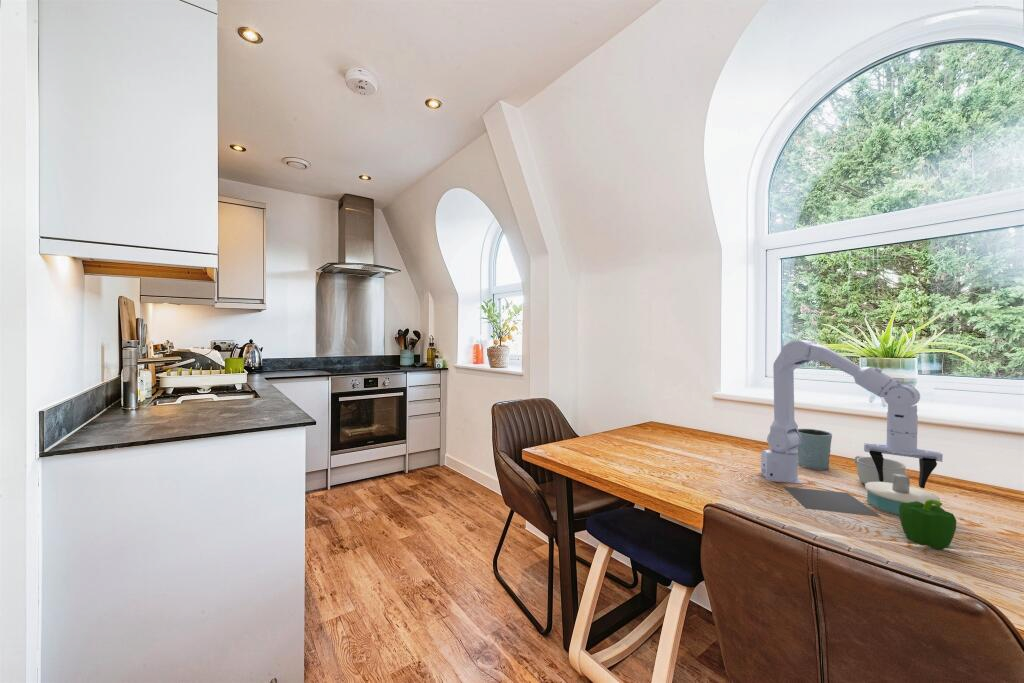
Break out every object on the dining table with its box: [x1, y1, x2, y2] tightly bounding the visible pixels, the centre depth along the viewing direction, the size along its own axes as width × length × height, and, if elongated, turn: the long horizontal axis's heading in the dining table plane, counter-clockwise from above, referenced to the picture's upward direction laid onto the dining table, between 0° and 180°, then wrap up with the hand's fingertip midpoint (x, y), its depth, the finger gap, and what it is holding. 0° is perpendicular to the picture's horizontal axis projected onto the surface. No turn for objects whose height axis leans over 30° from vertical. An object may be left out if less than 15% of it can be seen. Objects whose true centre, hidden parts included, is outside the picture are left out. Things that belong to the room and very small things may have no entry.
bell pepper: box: [898, 500, 957, 550], centre depth 87 cm, size 8×8×10 cm
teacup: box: [854, 455, 907, 485], centre depth 122 cm, size 14×11×8 cm
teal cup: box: [797, 428, 833, 471], centre depth 141 cm, size 10×10×12 cm
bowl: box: [866, 490, 937, 516], centre depth 105 cm, size 12×12×4 cm
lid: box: [864, 474, 941, 505], centre depth 105 cm, size 14×14×5 cm
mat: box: [783, 486, 882, 518], centre depth 110 cm, size 16×16×1 cm
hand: (900, 483), depth 105 cm, fingers open, 7 cm apart
